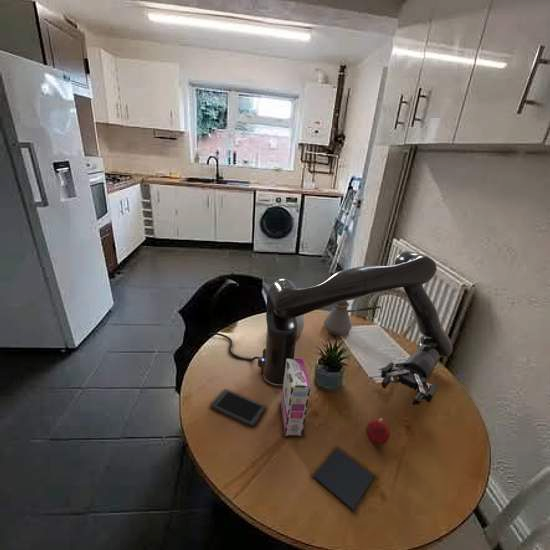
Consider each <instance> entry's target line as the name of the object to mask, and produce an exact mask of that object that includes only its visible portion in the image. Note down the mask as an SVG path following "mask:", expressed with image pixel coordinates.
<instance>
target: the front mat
mask: <svg viewBox="0 0 550 550" xmlns="http://www.w3.org/2000/svg"><path fill="white" fill-rule="evenodd" d="M313 478H314V479H315V480H316V481H318V482H319V483H320V484H321V485H322V486H323V487H325V489H327V490H328V491H329V492H330V493H332V494H333V495H334V496H335V497H337V499H339V500H340V502H342V503H343V504H344V505H346V506H347V507H348V508H349V509H350V510H352V511H354V510H355V508H356V506H357V505H358V504H359V502H360V501H361V499H362V497H363V496H364V494H365V493H366V491H367V489H368V488H369V486H370V485H371V483H372V481H373V480H374V478H375V475H373V473H371V472H369V471H368V470H366V469H365V468H364V467H362V466H361V465H360V464H359V463H357V462H356V461H354V460H353V459H352V458H351V457H349V456H348V455H346V453H344V452H343V451H341V450H340V449H339V448H336V449H335V451H333V452H332V454H331V455H330V457H328V459H327V460H326V461H325V462H324V464H323V465H322V466H321V467H320V469H319V470H318V471H317V472H316V473H315V474H314V476H313Z"/></svg>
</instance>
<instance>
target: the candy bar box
mask: <svg viewBox="0 0 550 550" xmlns="http://www.w3.org/2000/svg"><path fill="white" fill-rule="evenodd" d="M311 388H312V387H311V383H310V380H309V375H308V373H307V369H306V365H305V360H304V358H294V359H286V367H285V375H284V383H283V386H282V392H281V398H280V399H281V400H280V408H281V409H280V410H281V416H282V424H283V431H284V437H302V436H303V435H304V427H305V422H306V416H307V410H308V404H309V398H310V392H311Z"/></svg>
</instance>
